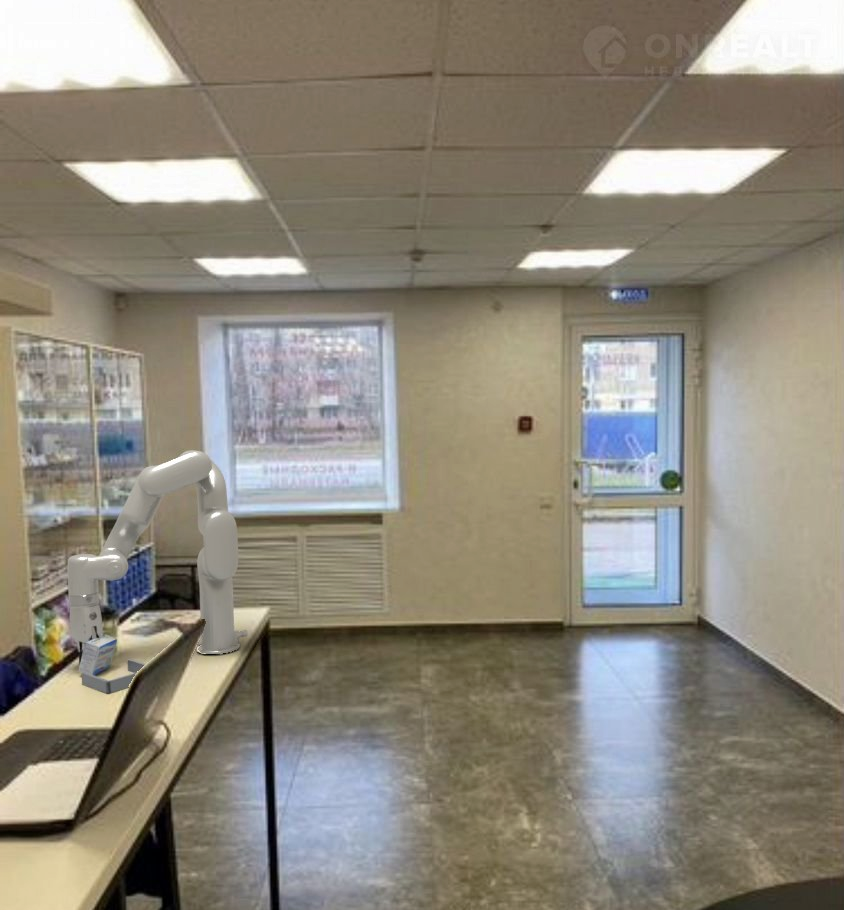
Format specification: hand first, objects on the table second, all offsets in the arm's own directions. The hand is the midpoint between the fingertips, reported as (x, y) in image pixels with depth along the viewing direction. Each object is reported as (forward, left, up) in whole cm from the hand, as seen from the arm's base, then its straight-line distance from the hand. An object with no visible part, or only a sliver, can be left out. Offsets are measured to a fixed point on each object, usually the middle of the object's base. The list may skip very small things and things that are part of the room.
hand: (86, 665), depth 198 cm
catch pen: (0, +17, -1) cm, 17 cm away
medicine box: (0, +4, -1) cm, 4 cm away
